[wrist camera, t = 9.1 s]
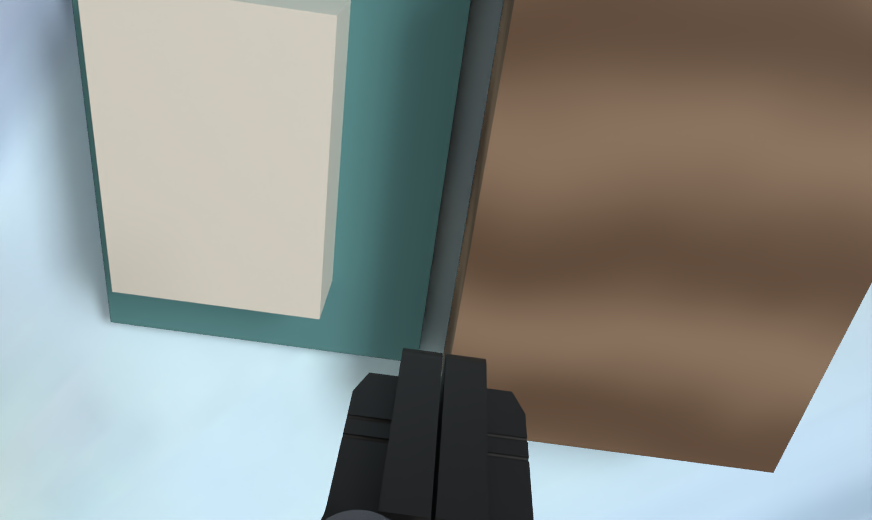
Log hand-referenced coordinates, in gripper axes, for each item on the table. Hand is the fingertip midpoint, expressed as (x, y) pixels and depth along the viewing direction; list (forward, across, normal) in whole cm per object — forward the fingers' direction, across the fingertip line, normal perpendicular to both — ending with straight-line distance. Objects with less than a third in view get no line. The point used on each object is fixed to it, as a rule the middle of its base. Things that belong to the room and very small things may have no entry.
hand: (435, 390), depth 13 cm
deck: (+13, -7, +1) cm, 15 cm away
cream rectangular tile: (+10, +7, +1) cm, 12 cm away
